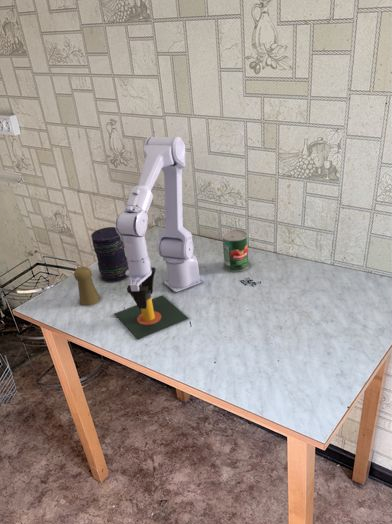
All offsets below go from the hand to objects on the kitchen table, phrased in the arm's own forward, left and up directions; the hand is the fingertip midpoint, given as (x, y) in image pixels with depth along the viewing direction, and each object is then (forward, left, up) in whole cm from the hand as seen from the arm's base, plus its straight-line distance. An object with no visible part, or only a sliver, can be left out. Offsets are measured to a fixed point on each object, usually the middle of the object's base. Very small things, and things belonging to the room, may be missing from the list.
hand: (145, 300), depth 143 cm
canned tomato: (-37, -10, -6) cm, 39 cm away
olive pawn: (+10, -22, -6) cm, 25 cm away
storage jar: (-3, -32, -6) cm, 33 cm away
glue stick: (0, 0, -6) cm, 6 cm away
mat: (-1, -1, -6) cm, 6 cm away
